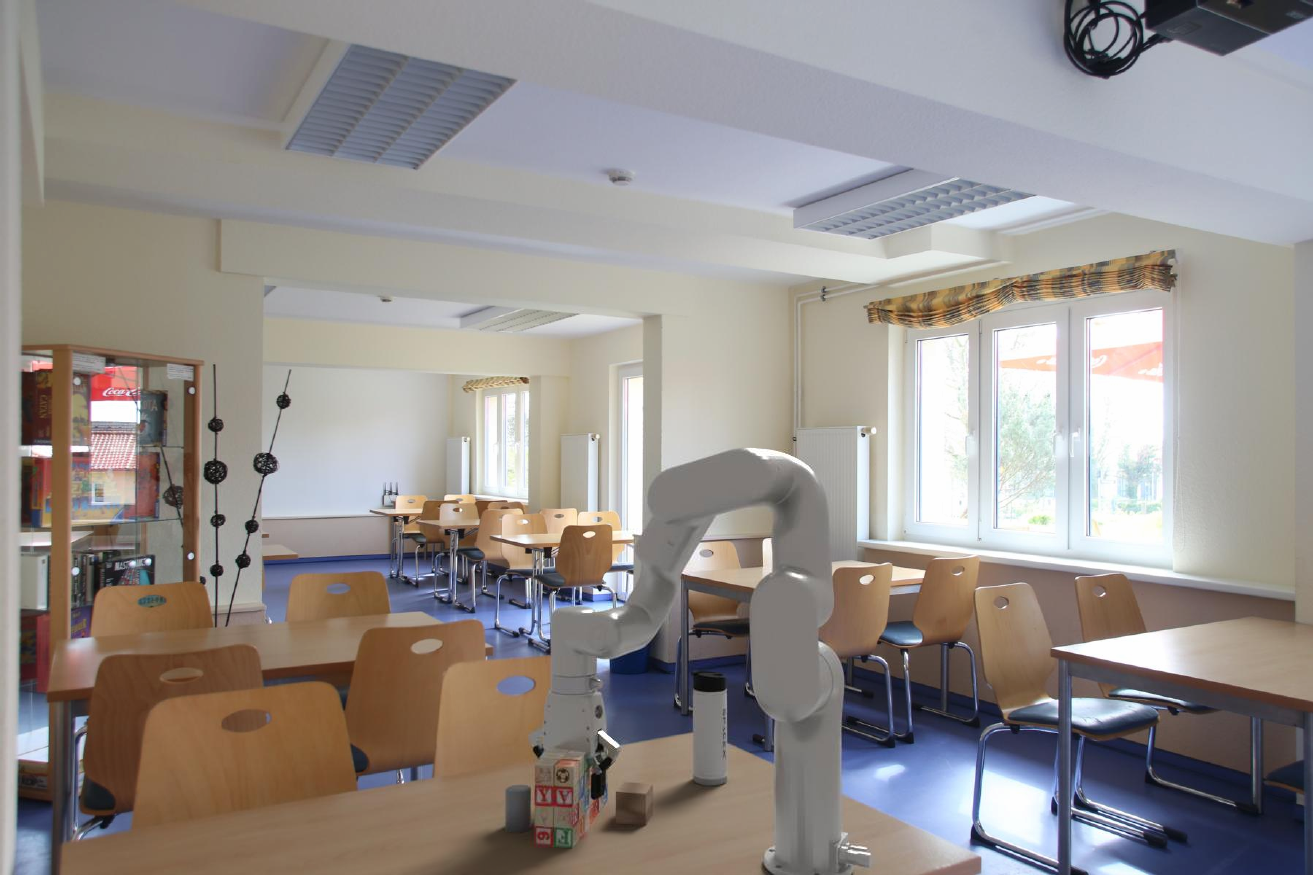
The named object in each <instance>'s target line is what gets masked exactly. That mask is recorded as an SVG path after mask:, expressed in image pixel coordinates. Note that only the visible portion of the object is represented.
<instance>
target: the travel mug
mask: <svg viewBox="0 0 1313 875" xmlns="http://www.w3.org/2000/svg"><path fill="white" fill-rule="evenodd" d="M690 674H691V676H692V677H693V679H692V680H693V681H692V684H693V686H692V687H693V688H692V771H693V772H692V780H693V781H694V782H695V784H698V785H701V786H712V787H713V786H721V785H724V784H725V783H727V781H728V772H727V771H728V720H727V719H728V715H727V714H728V699H727V698H728V697H727V696H728V694H727V691H728V688H727V676H726V675H723V674H722V673H720V672H715V671H710V670H691V672H690Z"/></svg>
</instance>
